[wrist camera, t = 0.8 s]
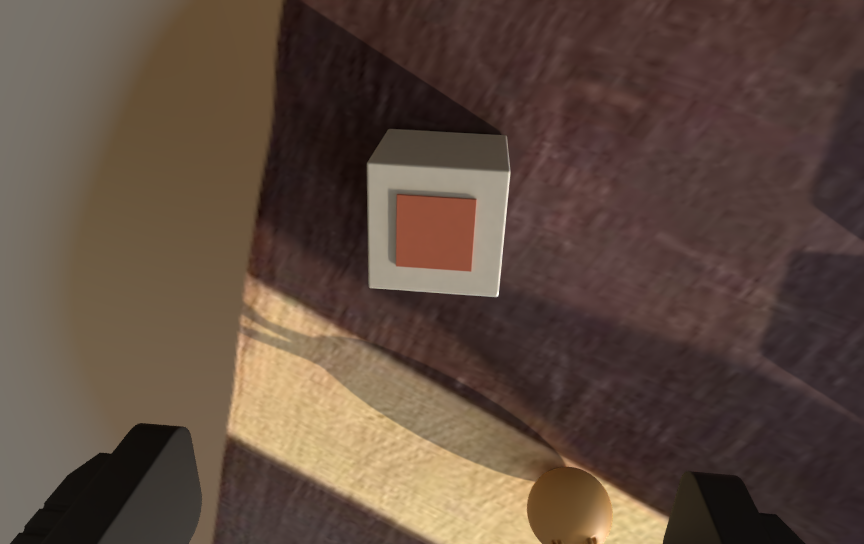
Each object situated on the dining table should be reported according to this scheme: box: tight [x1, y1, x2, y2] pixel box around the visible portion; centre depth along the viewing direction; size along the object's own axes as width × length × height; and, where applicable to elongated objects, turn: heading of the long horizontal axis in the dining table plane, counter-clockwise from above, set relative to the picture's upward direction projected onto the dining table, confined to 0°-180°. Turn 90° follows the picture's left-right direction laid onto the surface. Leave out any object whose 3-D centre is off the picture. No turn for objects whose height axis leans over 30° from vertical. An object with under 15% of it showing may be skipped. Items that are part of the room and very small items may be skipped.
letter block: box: [367, 129, 510, 297], centre depth 22 cm, size 5×5×5 cm
